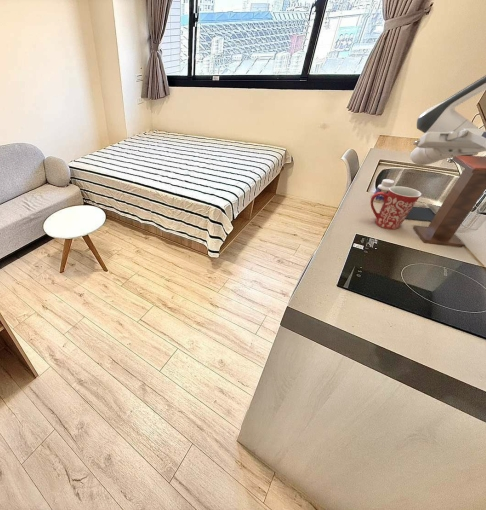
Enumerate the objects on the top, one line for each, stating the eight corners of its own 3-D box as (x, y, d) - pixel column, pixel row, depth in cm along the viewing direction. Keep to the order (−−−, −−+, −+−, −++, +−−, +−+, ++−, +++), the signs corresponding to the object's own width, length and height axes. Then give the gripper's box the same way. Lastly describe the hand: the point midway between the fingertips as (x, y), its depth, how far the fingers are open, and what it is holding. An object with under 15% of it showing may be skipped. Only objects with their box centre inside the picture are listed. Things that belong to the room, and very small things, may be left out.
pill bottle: (375, 203, 118) (384, 183, 113) (369, 197, 122) (378, 178, 117) (389, 203, 117) (399, 183, 112) (382, 198, 121) (392, 178, 116)
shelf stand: (446, 230, 98) (496, 156, 83) (463, 249, 90) (523, 170, 74) (411, 226, 102) (454, 155, 86) (424, 244, 93) (474, 167, 77)
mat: (429, 208, 112) (429, 207, 111) (442, 222, 103) (443, 222, 102) (393, 205, 115) (393, 204, 115) (403, 219, 106) (403, 218, 106)
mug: (401, 222, 105) (420, 188, 97) (403, 233, 99) (423, 198, 91) (362, 214, 111) (376, 182, 103) (361, 224, 105) (376, 191, 97)
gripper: (412, 135, 101) (437, 122, 88) (485, 137, 95) (523, 122, 82) (408, 153, 102) (431, 142, 89) (480, 156, 96) (517, 144, 83)
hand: (476, 133), depth 86 cm, fingers closed on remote, 4 cm apart
